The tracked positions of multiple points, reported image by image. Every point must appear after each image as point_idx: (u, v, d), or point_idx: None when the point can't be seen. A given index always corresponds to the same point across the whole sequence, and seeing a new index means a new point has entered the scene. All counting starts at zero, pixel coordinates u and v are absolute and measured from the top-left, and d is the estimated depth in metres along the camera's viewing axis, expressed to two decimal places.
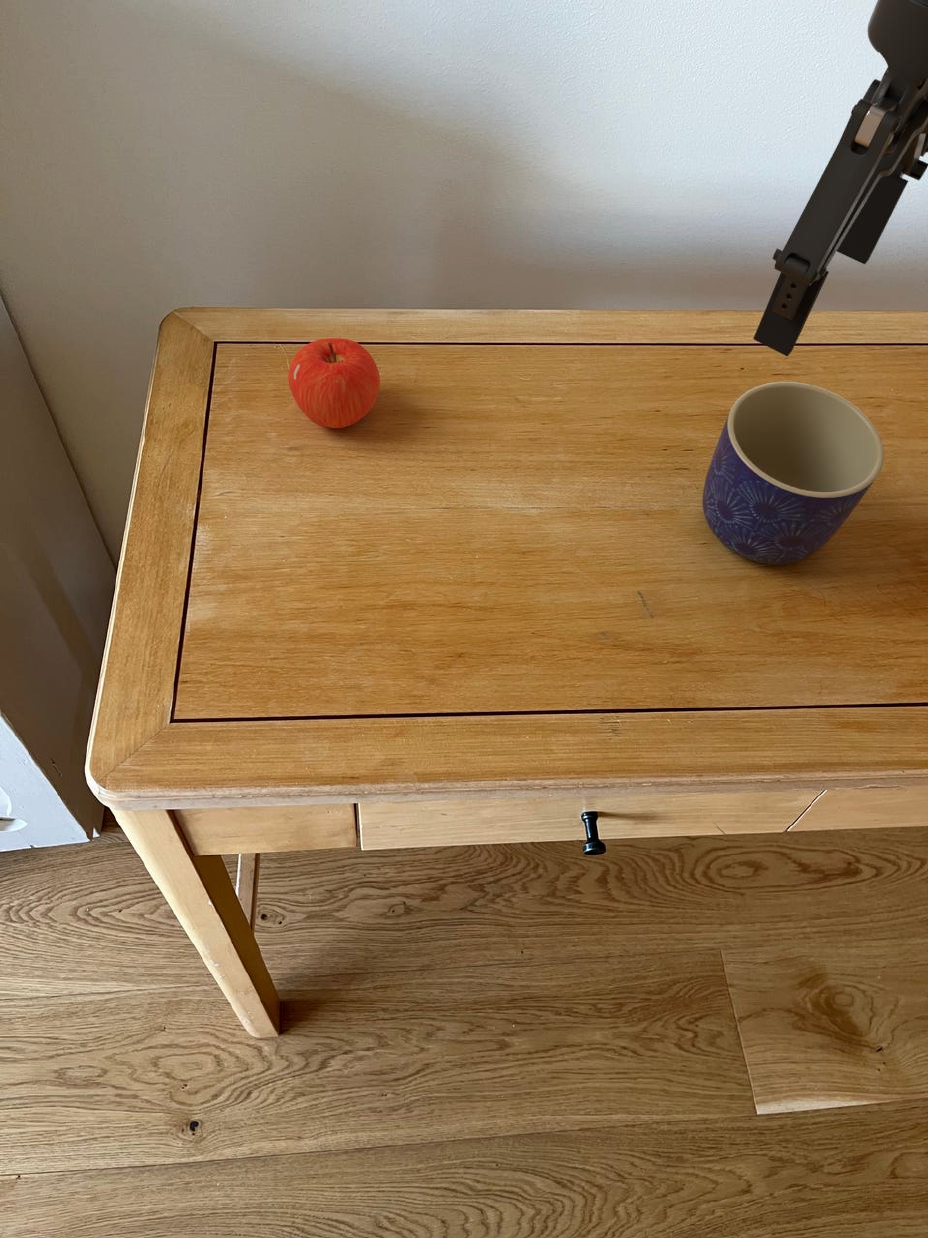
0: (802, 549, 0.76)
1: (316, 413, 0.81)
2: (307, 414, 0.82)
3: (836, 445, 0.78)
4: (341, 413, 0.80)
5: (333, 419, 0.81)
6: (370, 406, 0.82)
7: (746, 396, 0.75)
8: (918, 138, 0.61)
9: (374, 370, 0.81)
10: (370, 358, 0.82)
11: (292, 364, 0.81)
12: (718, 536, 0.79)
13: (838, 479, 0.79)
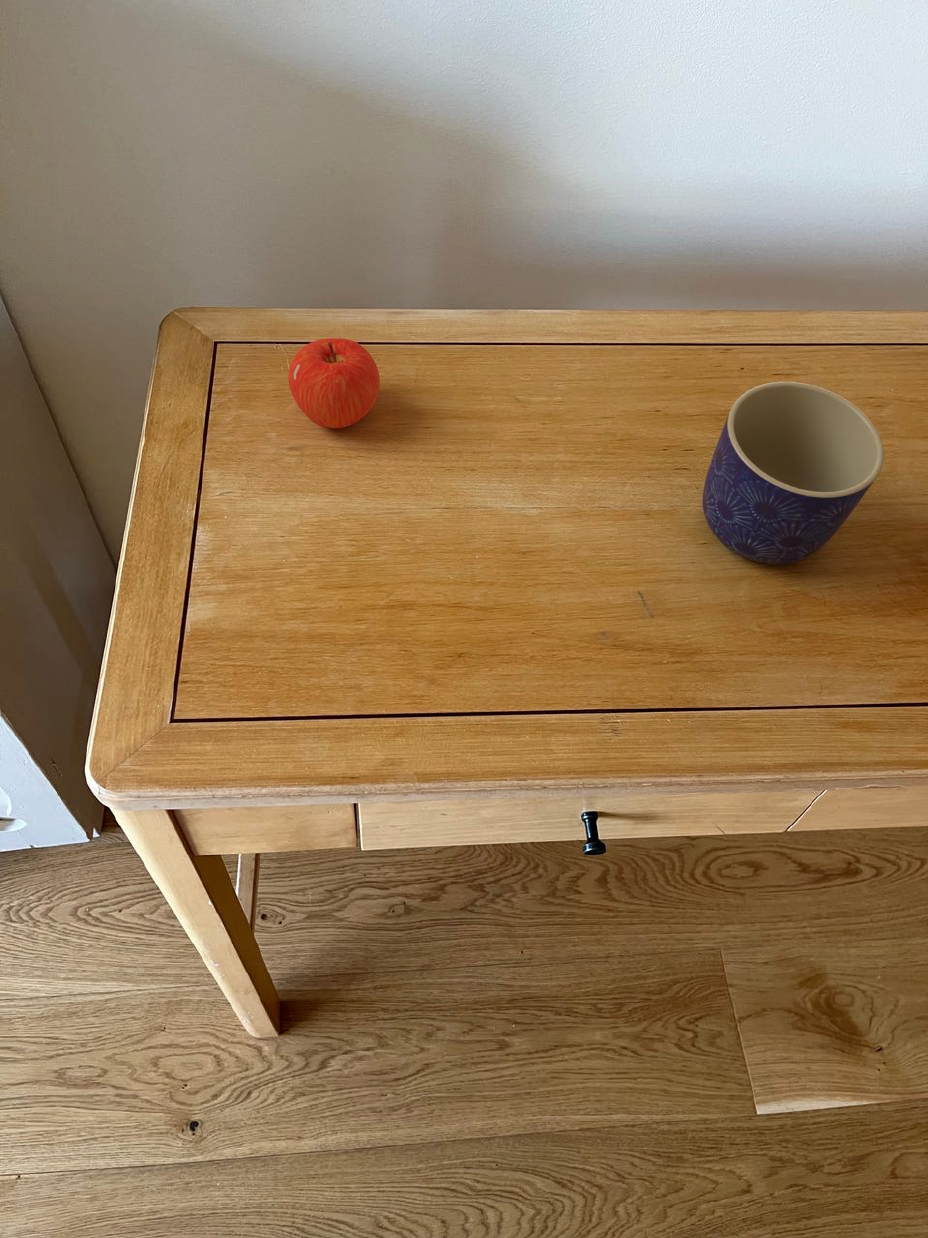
0: (802, 548, 0.76)
1: (316, 413, 0.81)
2: (307, 414, 0.82)
3: (836, 445, 0.78)
4: (341, 413, 0.80)
5: (333, 419, 0.81)
6: (370, 406, 0.82)
7: (746, 396, 0.75)
8: None
9: (374, 370, 0.81)
10: (370, 358, 0.82)
11: (292, 364, 0.81)
12: (718, 536, 0.79)
13: (838, 479, 0.79)
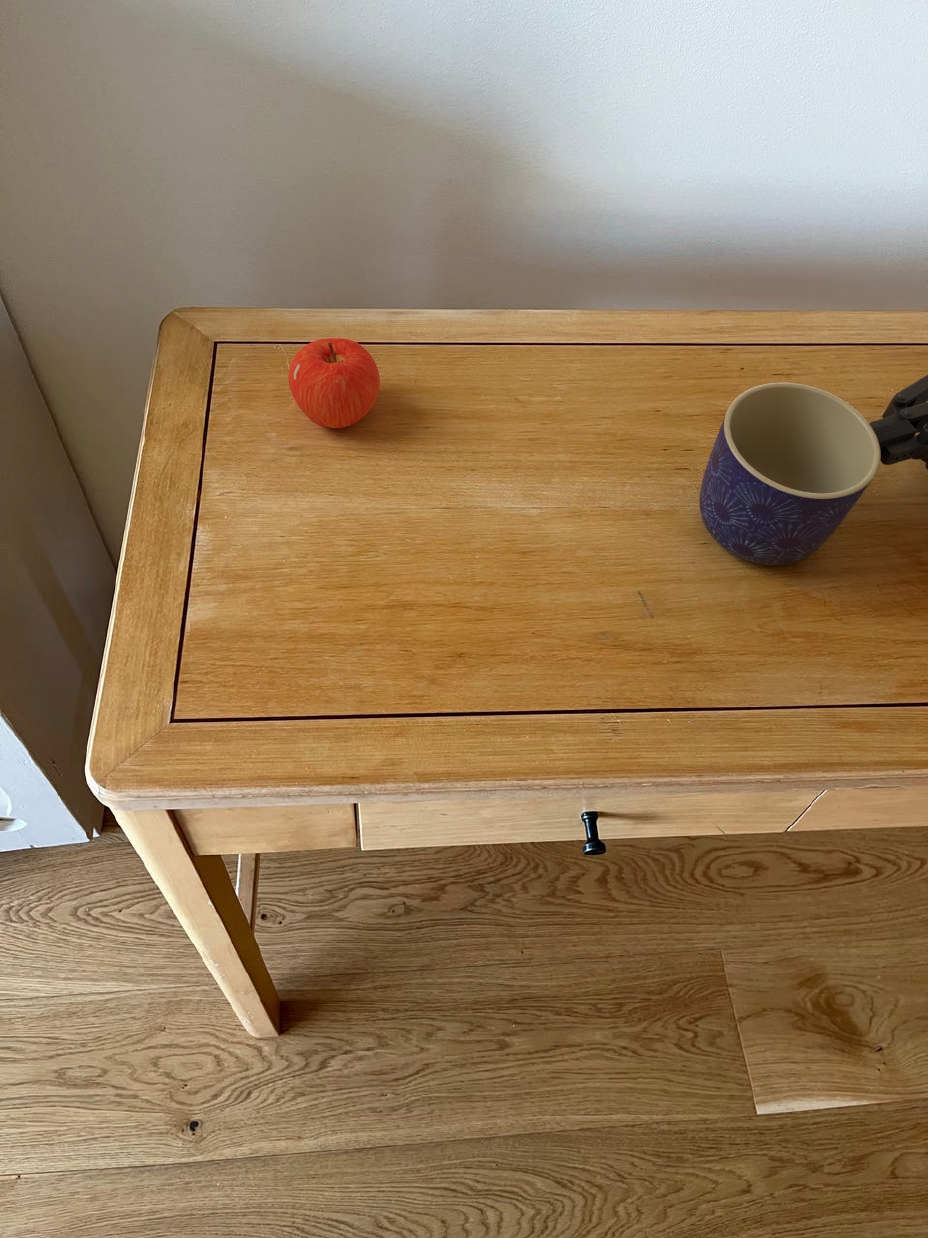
0: (799, 549, 0.76)
1: (316, 413, 0.81)
2: (307, 414, 0.82)
3: (833, 446, 0.78)
4: (341, 413, 0.80)
5: (333, 419, 0.81)
6: (370, 406, 0.82)
7: (743, 397, 0.75)
8: None
9: (374, 370, 0.81)
10: (370, 358, 0.82)
11: (292, 364, 0.81)
12: (715, 537, 0.79)
13: (834, 480, 0.79)
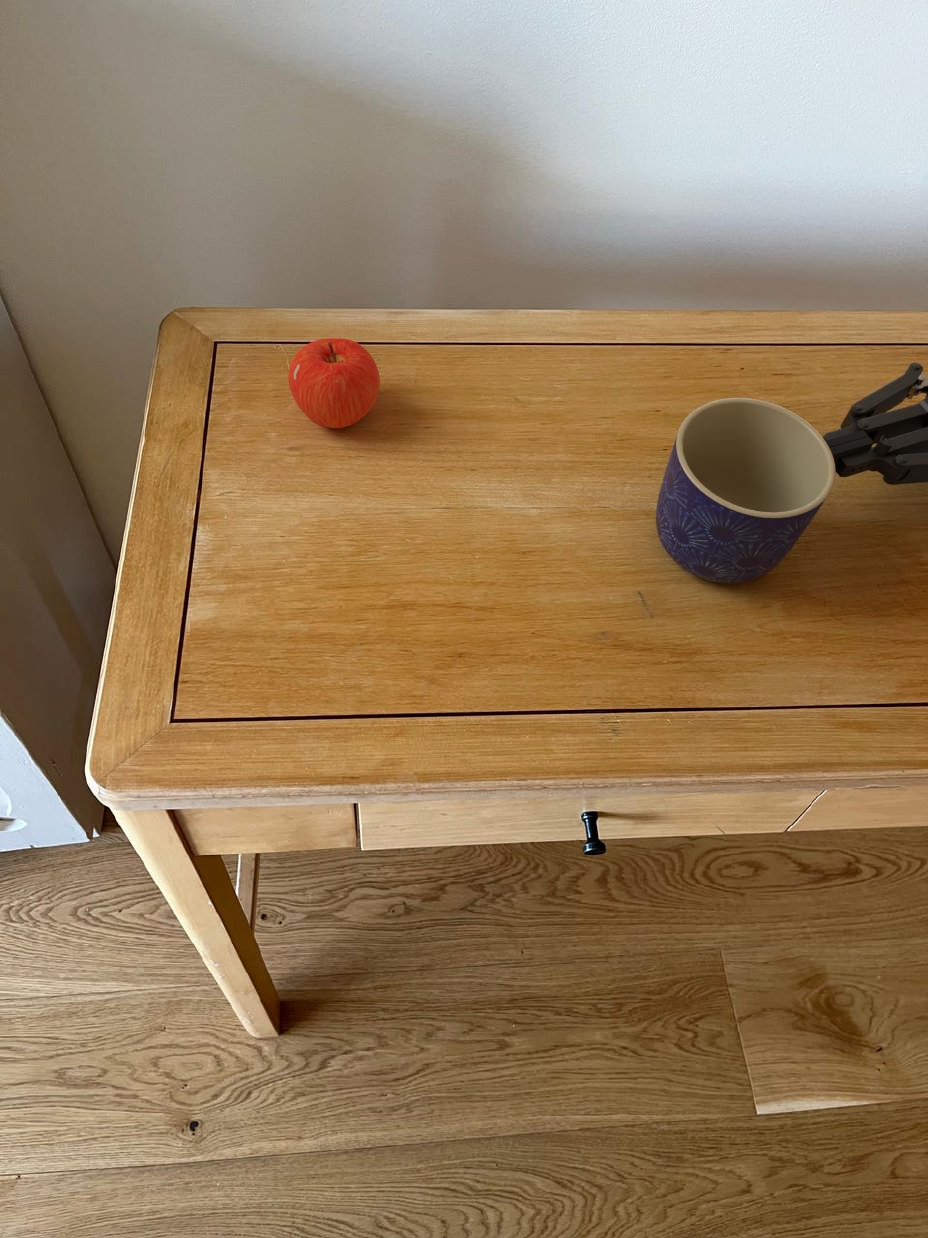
0: (761, 567, 0.74)
1: (316, 413, 0.81)
2: (307, 414, 0.82)
3: (785, 458, 0.77)
4: (341, 413, 0.80)
5: (333, 419, 0.81)
6: (370, 406, 0.82)
7: (693, 416, 0.73)
8: None
9: (374, 370, 0.81)
10: (370, 358, 0.82)
11: (292, 364, 0.81)
12: (675, 559, 0.77)
13: (790, 492, 0.78)
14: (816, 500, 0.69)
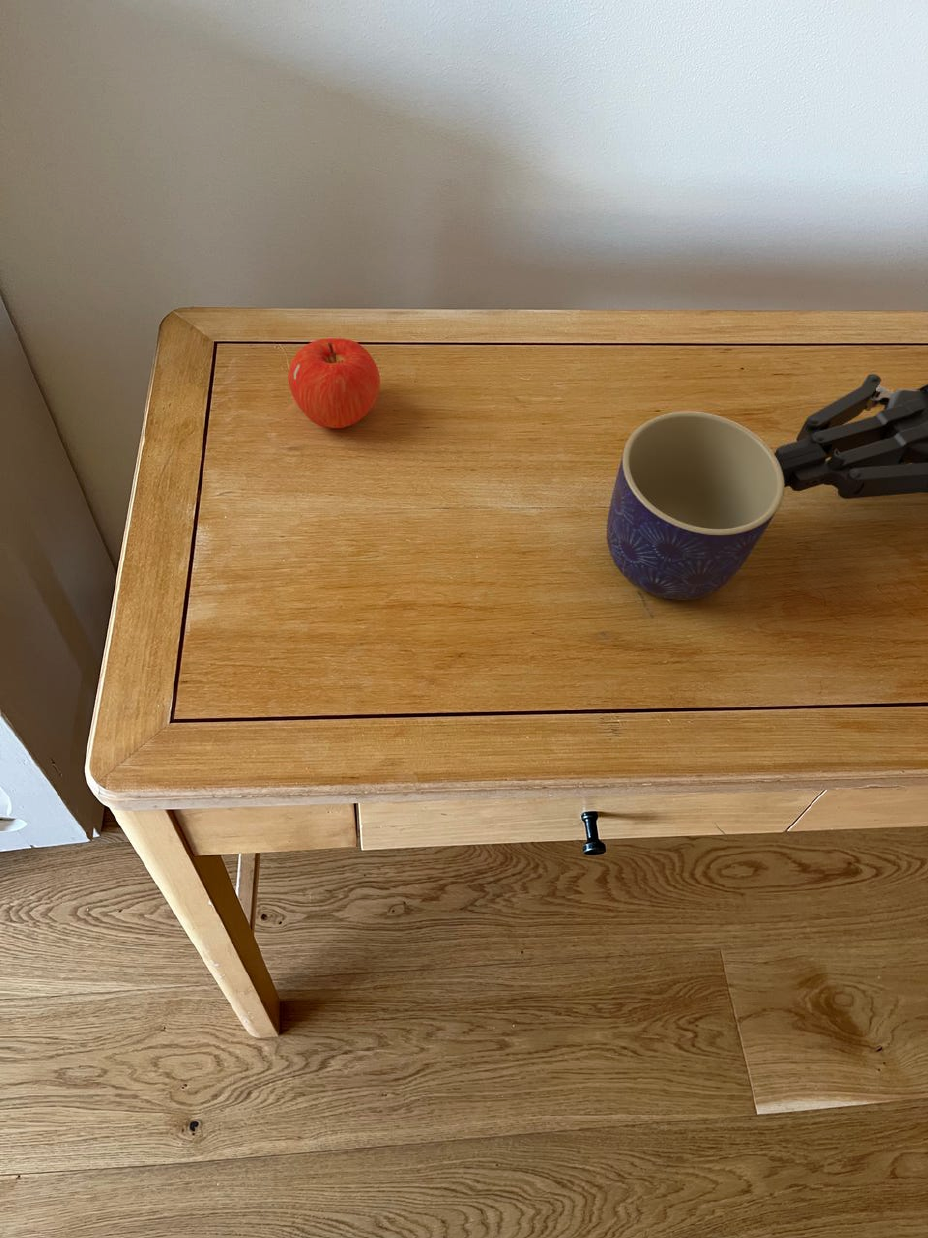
0: (711, 583, 0.73)
1: (316, 413, 0.81)
2: (307, 414, 0.82)
3: (737, 472, 0.76)
4: (341, 413, 0.80)
5: (333, 419, 0.81)
6: (370, 406, 0.82)
7: (640, 430, 0.72)
8: (885, 439, 0.78)
9: (374, 370, 0.81)
10: (370, 358, 0.82)
11: (292, 364, 0.81)
12: (625, 575, 0.76)
13: (742, 506, 0.76)
14: (763, 516, 0.68)
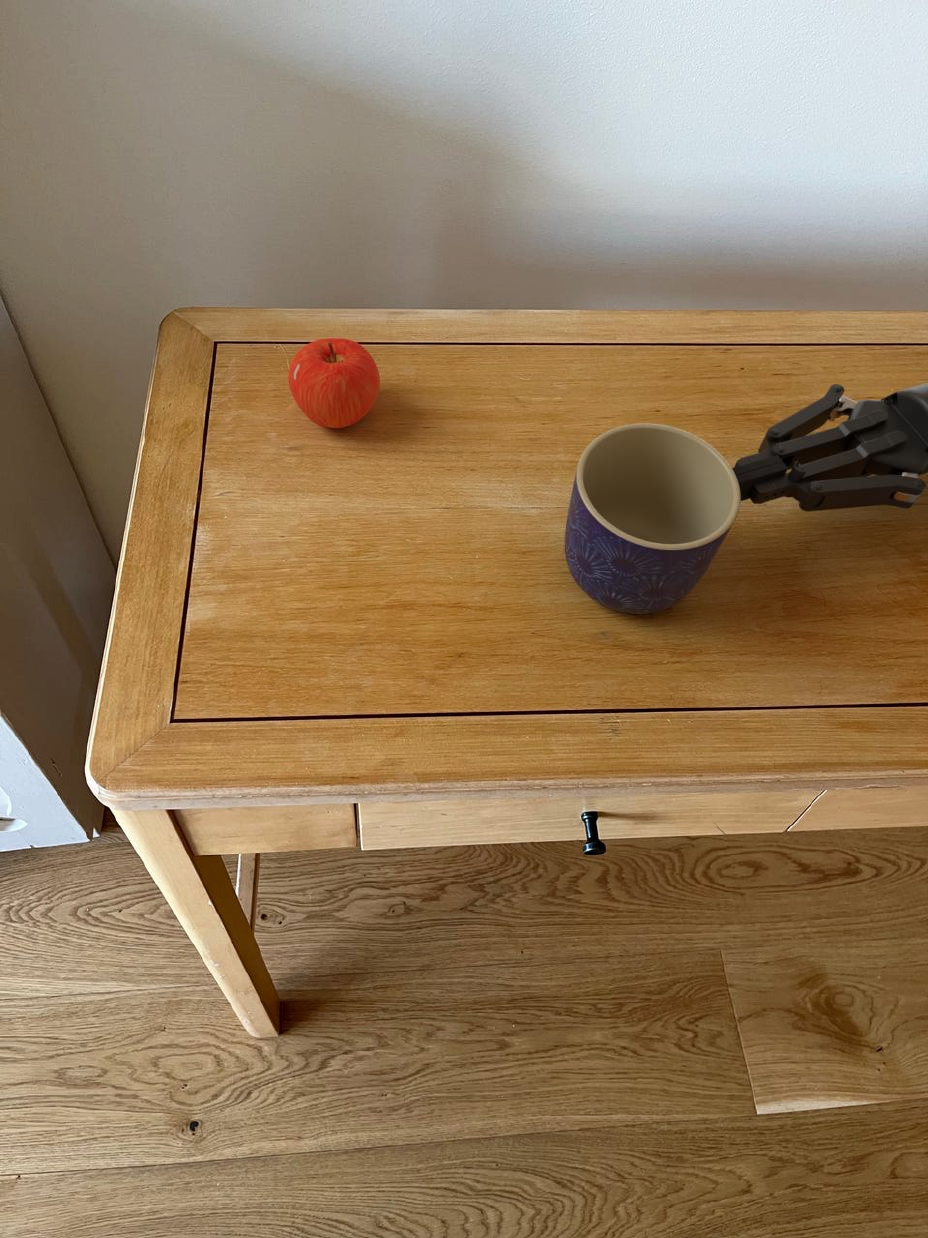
0: (668, 598, 0.72)
1: (316, 413, 0.81)
2: (307, 414, 0.82)
3: (695, 484, 0.74)
4: (341, 413, 0.80)
5: (333, 419, 0.81)
6: (370, 406, 0.82)
7: (595, 443, 0.71)
8: (847, 451, 0.77)
9: (374, 370, 0.81)
10: (370, 358, 0.82)
11: (292, 364, 0.81)
12: (583, 589, 0.75)
13: (701, 519, 0.75)
14: (718, 531, 0.67)
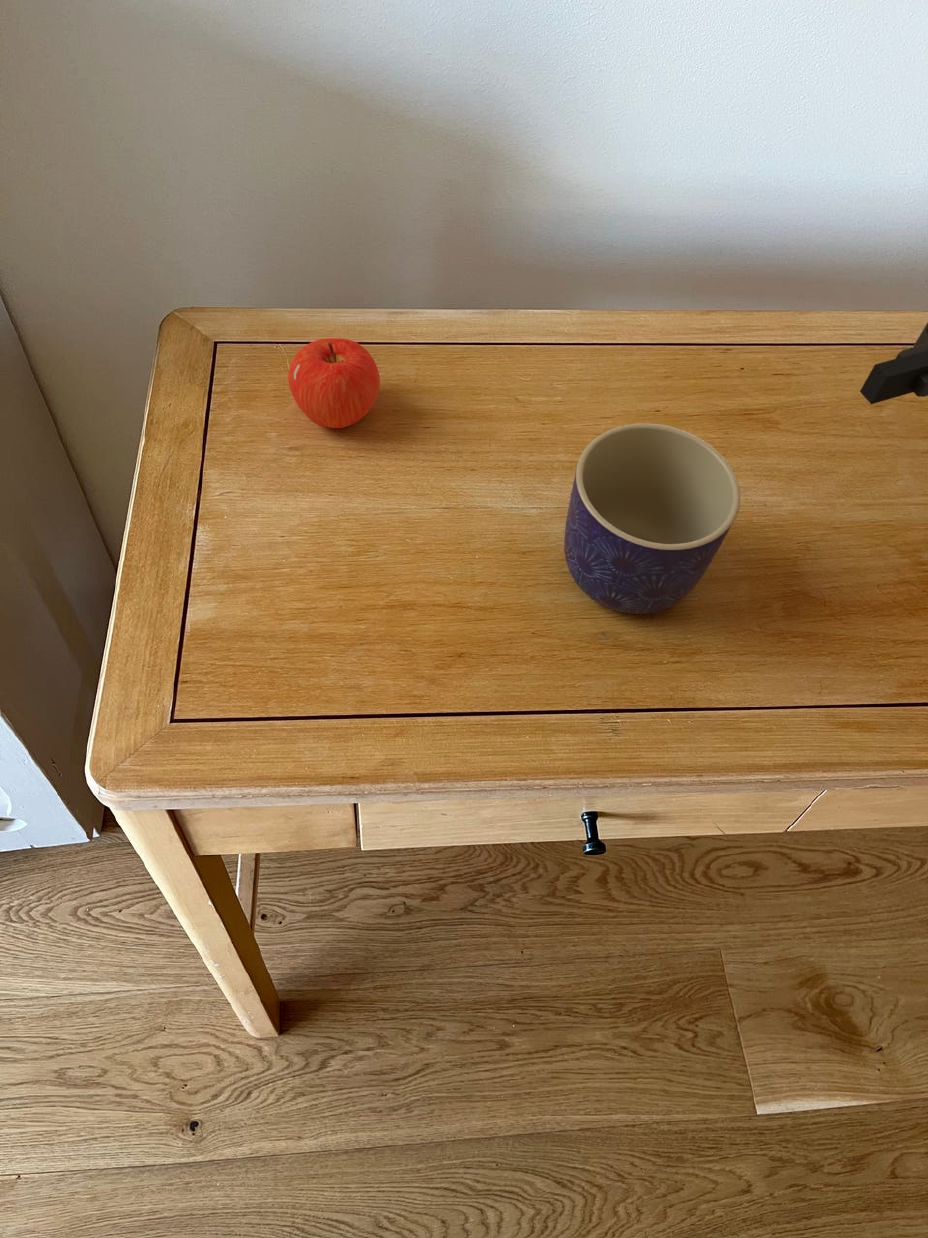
0: (668, 598, 0.72)
1: (316, 413, 0.81)
2: (307, 414, 0.82)
3: (695, 484, 0.74)
4: (341, 413, 0.80)
5: (333, 419, 0.81)
6: (370, 406, 0.82)
7: (595, 443, 0.71)
8: None
9: (374, 370, 0.81)
10: (370, 358, 0.82)
11: (292, 364, 0.81)
12: (583, 589, 0.75)
13: (701, 519, 0.75)
14: (718, 531, 0.67)
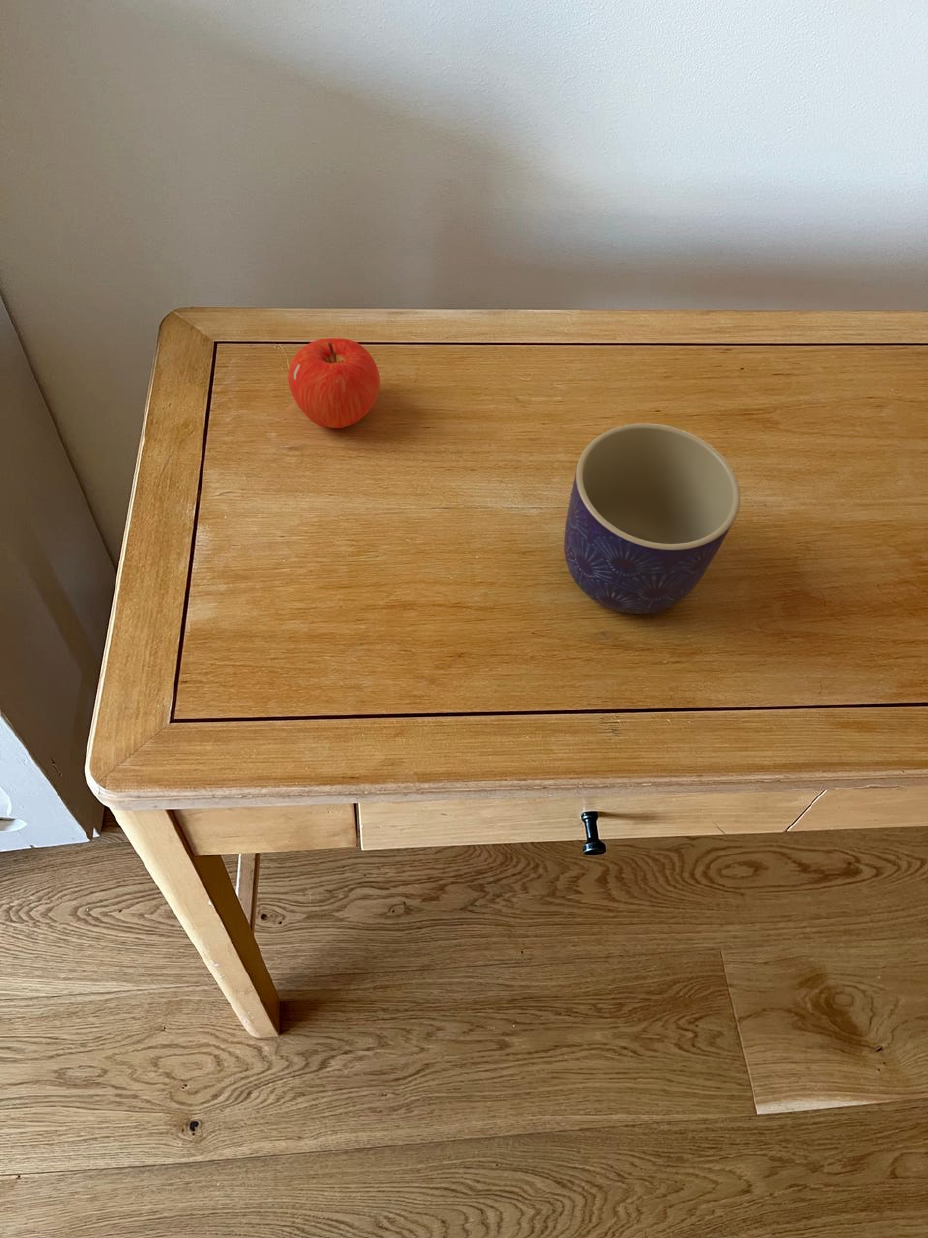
0: (668, 598, 0.72)
1: (316, 413, 0.81)
2: (307, 414, 0.82)
3: (695, 484, 0.74)
4: (341, 413, 0.80)
5: (333, 419, 0.81)
6: (370, 406, 0.82)
7: (595, 443, 0.71)
8: None
9: (374, 370, 0.81)
10: (370, 358, 0.82)
11: (292, 364, 0.81)
12: (583, 589, 0.75)
13: (701, 519, 0.75)
14: (718, 530, 0.67)
